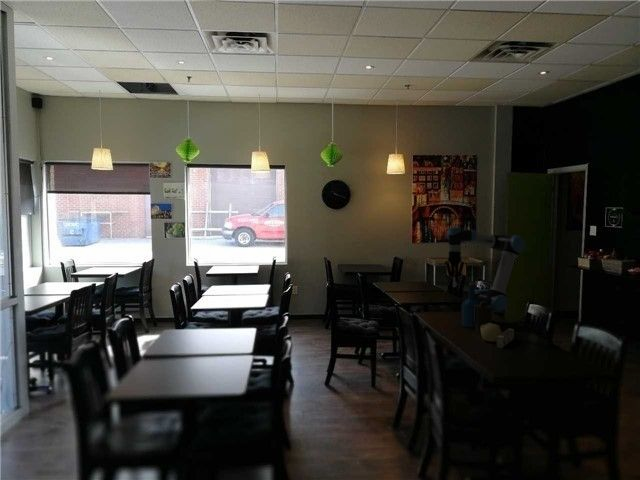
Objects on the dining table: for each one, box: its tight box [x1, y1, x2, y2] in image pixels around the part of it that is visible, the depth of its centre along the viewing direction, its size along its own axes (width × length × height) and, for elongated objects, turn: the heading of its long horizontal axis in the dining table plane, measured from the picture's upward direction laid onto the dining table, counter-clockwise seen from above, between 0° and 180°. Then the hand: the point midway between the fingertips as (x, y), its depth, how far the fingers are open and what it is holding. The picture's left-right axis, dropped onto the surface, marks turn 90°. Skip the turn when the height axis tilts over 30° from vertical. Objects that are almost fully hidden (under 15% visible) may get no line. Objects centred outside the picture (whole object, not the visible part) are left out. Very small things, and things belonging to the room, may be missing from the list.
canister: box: [474, 301, 492, 335], centre depth 297 cm, size 11×10×20 cm
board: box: [496, 328, 515, 349], centre depth 273 cm, size 24×3×6 cm, turn 142°
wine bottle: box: [461, 281, 480, 329], centre depth 315 cm, size 14×13×30 cm
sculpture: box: [480, 323, 503, 343], centre depth 277 cm, size 12×12×11 cm
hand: (454, 286), depth 301 cm, fingers closed
